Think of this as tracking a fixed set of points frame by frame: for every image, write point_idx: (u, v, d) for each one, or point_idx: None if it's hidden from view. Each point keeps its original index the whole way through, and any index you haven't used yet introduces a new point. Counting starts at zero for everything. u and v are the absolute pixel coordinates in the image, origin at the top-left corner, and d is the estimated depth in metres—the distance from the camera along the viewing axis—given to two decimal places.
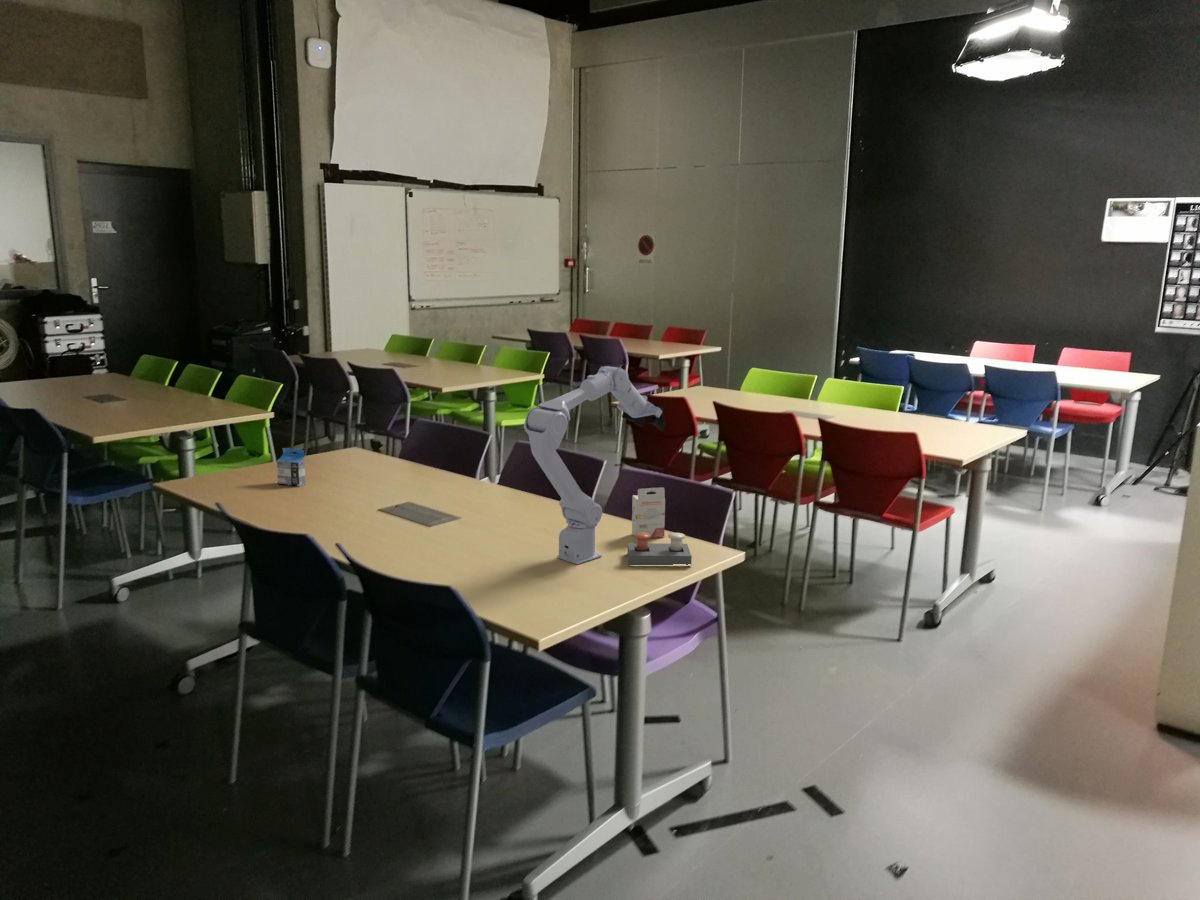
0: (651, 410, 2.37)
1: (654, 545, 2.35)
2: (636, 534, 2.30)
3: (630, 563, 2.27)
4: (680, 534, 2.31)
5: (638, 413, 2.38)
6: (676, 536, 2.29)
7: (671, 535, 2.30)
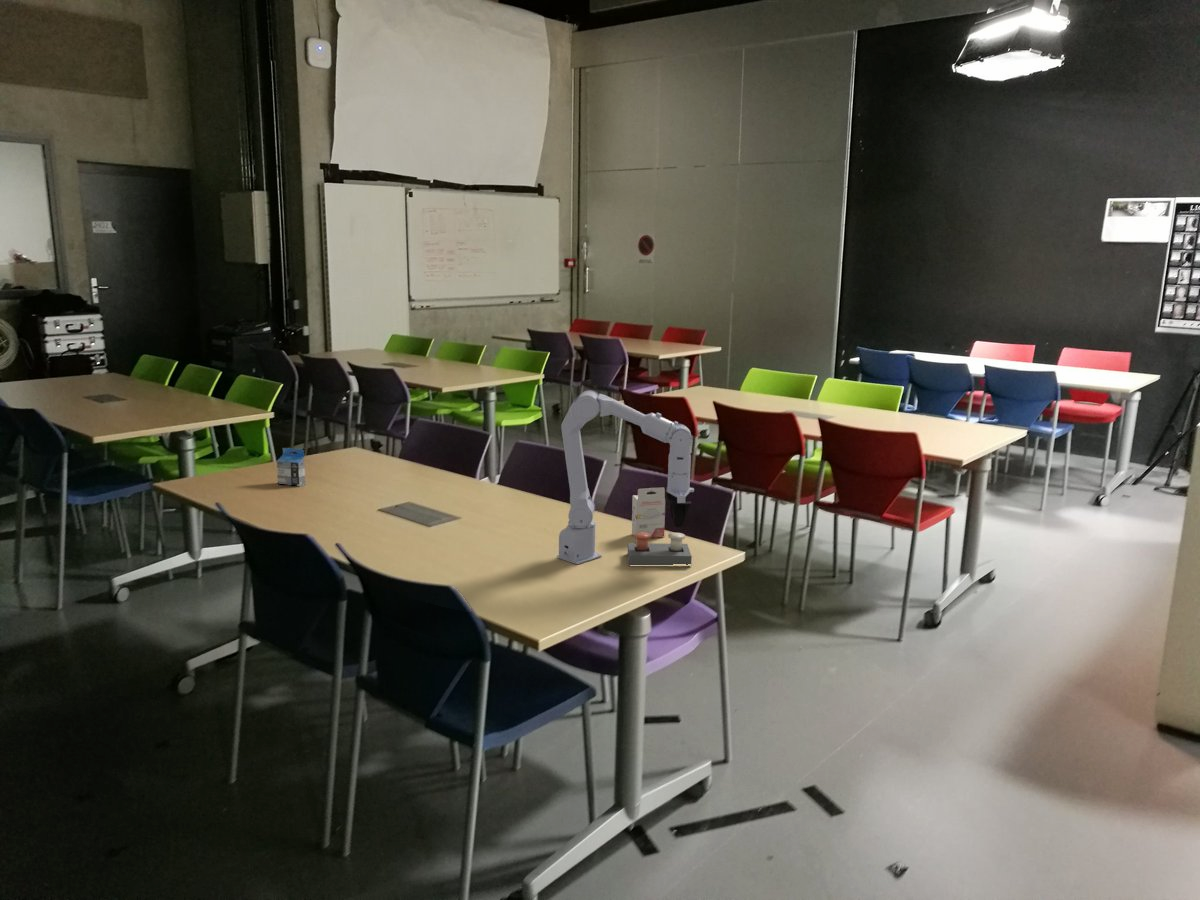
0: (680, 494, 2.23)
1: (654, 545, 2.35)
2: (636, 534, 2.30)
3: (630, 563, 2.27)
4: (680, 534, 2.31)
5: (671, 488, 2.26)
6: (676, 536, 2.29)
7: (671, 535, 2.30)
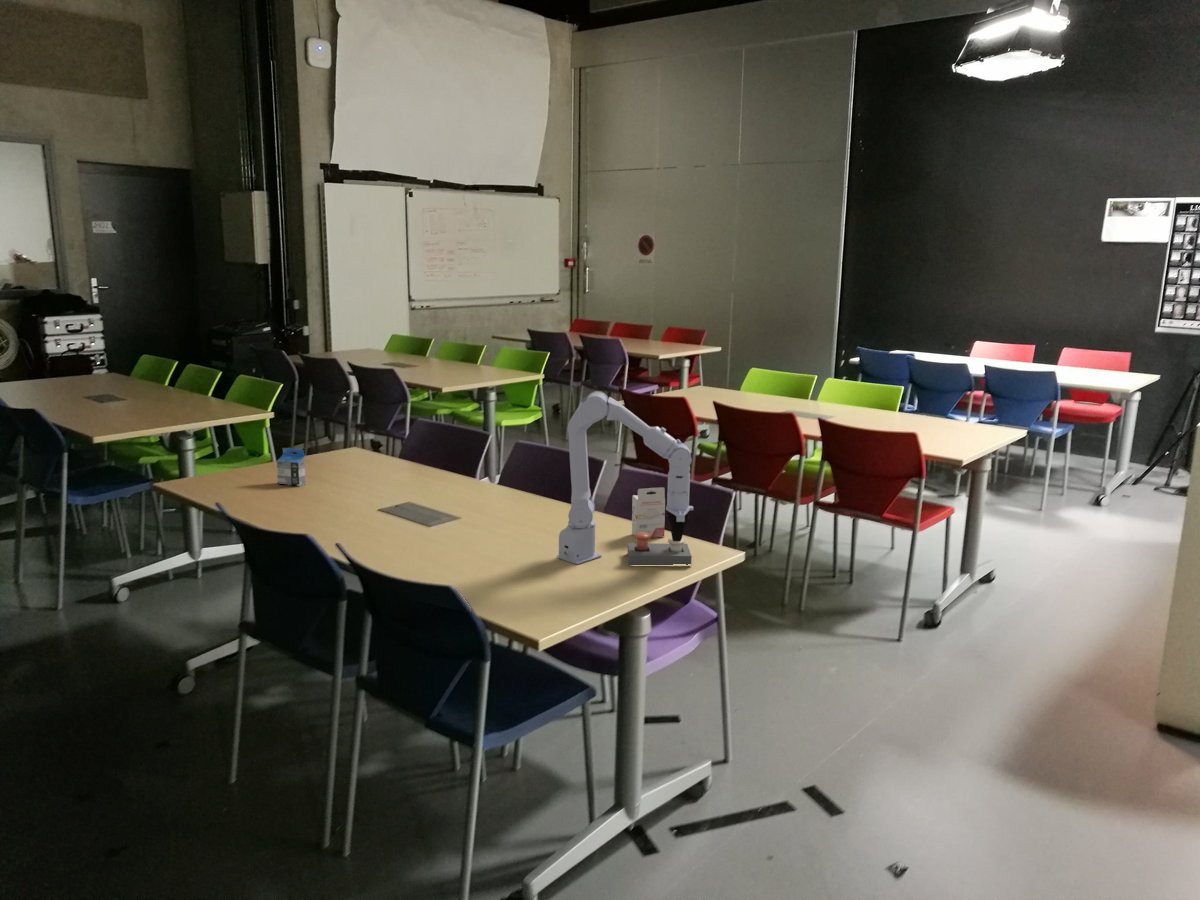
0: (679, 512, 2.24)
1: (654, 545, 2.35)
2: (636, 534, 2.30)
3: (630, 563, 2.27)
4: None
5: (670, 507, 2.27)
6: (676, 541, 2.30)
7: (671, 540, 2.30)
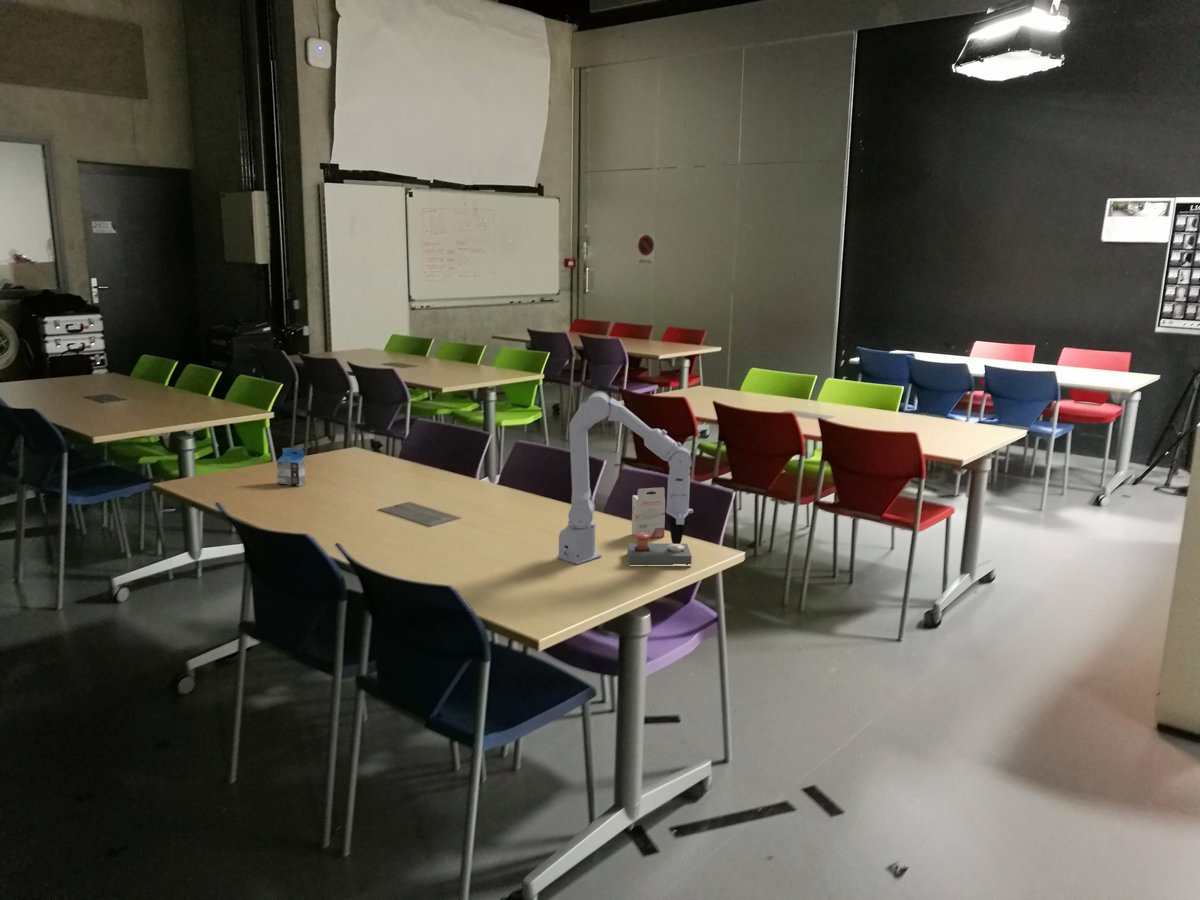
0: (679, 515, 2.24)
1: (654, 545, 2.35)
2: (636, 534, 2.30)
3: (630, 563, 2.27)
4: (679, 545, 2.32)
5: (670, 509, 2.27)
6: (676, 547, 2.30)
7: (671, 546, 2.31)
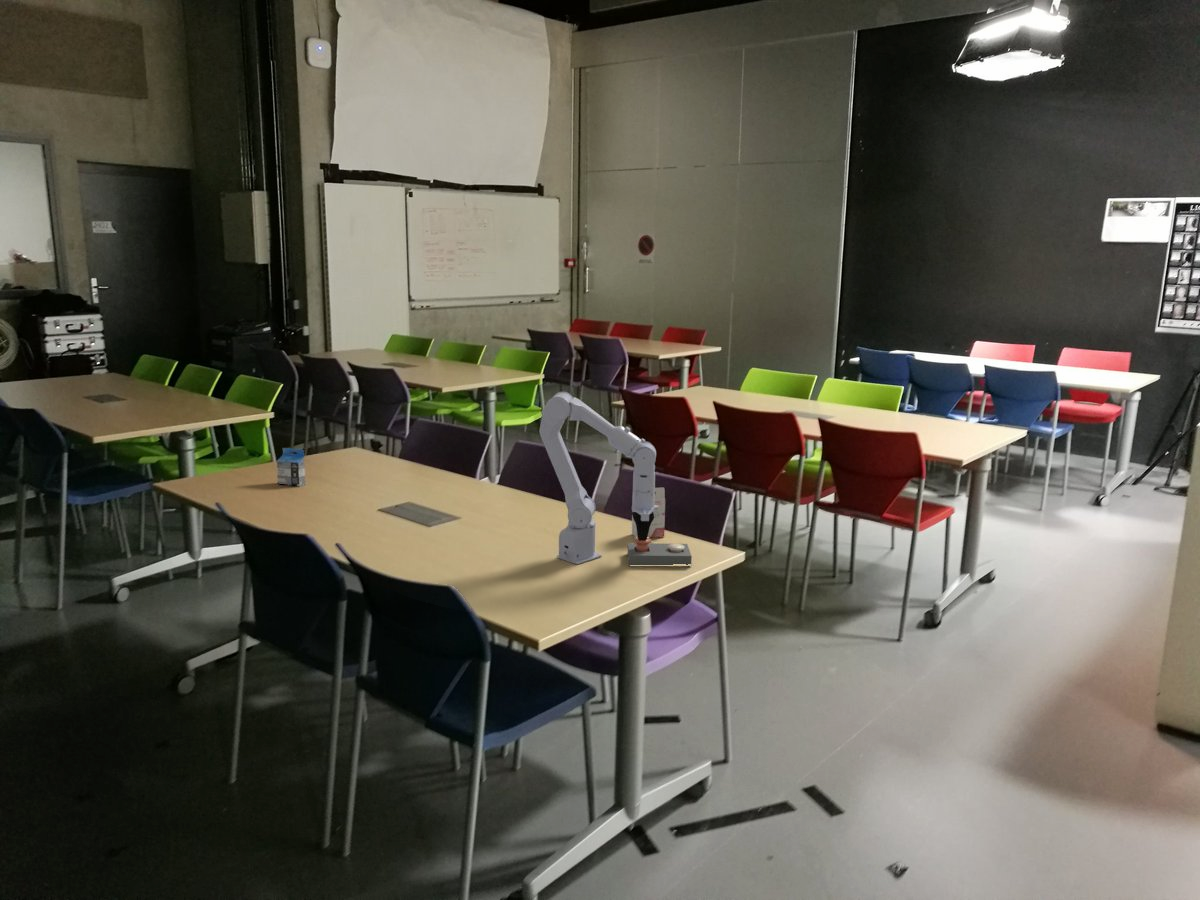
0: (643, 512, 2.24)
1: (654, 545, 2.35)
2: (636, 539, 2.31)
3: (630, 563, 2.27)
4: (679, 545, 2.32)
5: (635, 506, 2.27)
6: (676, 547, 2.30)
7: (671, 546, 2.31)
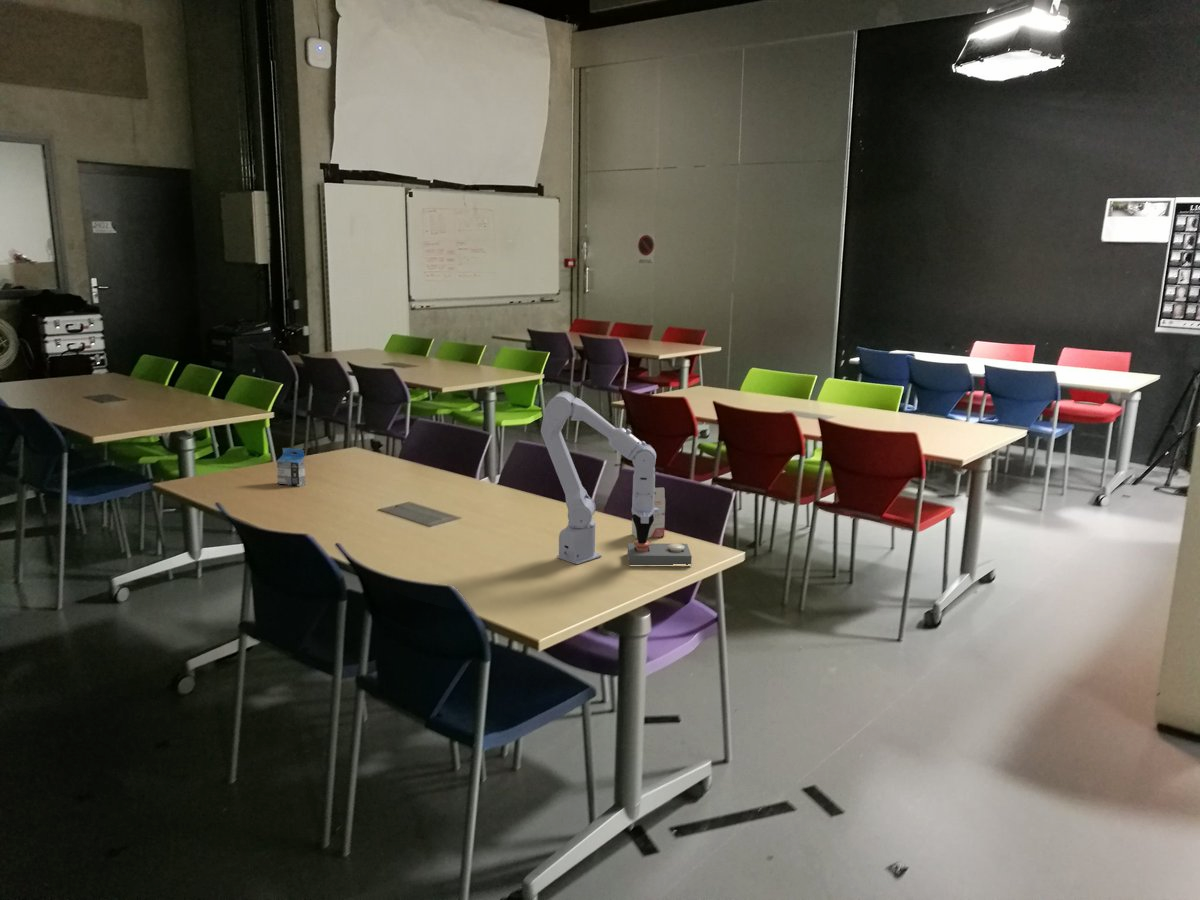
0: (643, 514, 2.24)
1: (654, 545, 2.35)
2: (636, 542, 2.31)
3: (630, 563, 2.27)
4: (679, 545, 2.32)
5: (635, 508, 2.27)
6: (676, 547, 2.30)
7: (671, 546, 2.31)
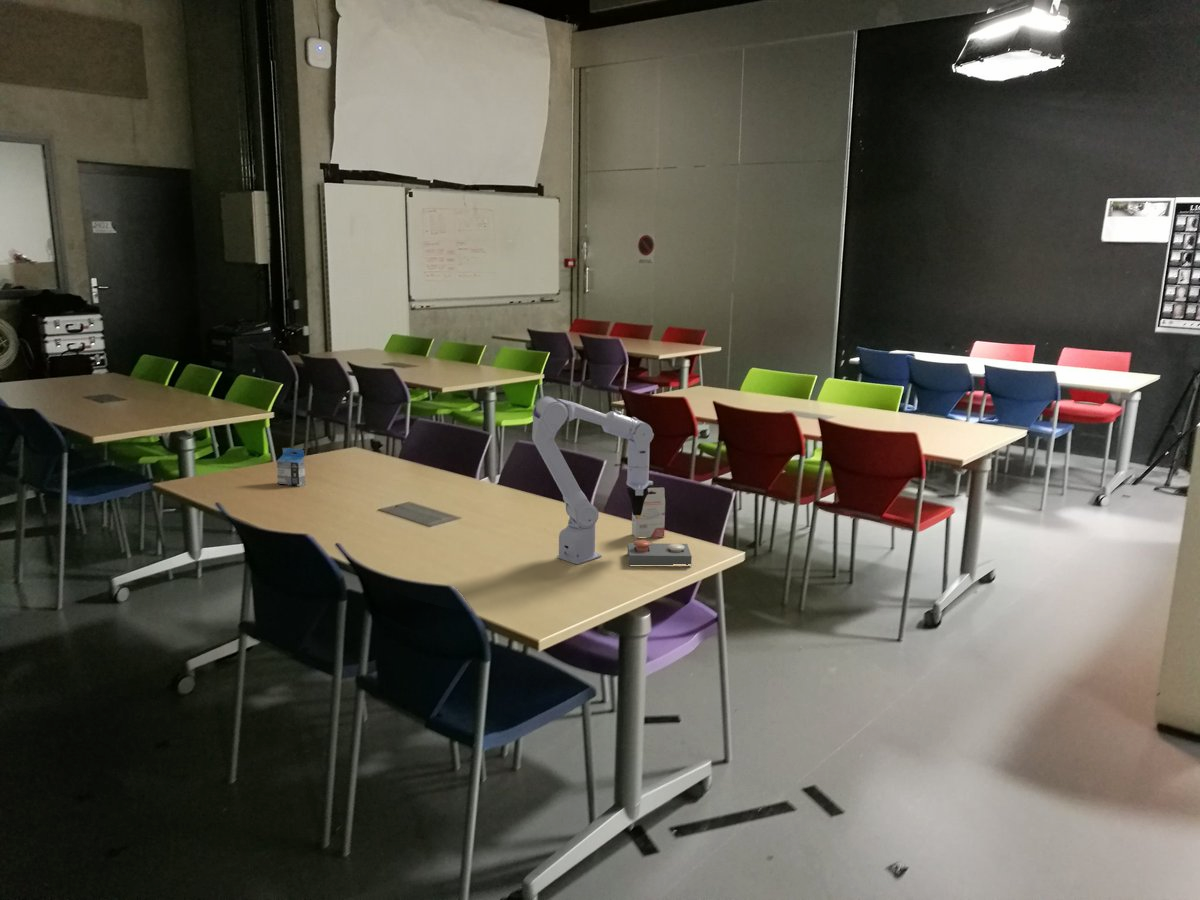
0: (638, 486, 2.30)
1: (654, 545, 2.35)
2: (636, 542, 2.31)
3: (630, 563, 2.27)
4: (679, 545, 2.32)
5: (630, 481, 2.33)
6: (676, 547, 2.30)
7: (671, 546, 2.31)
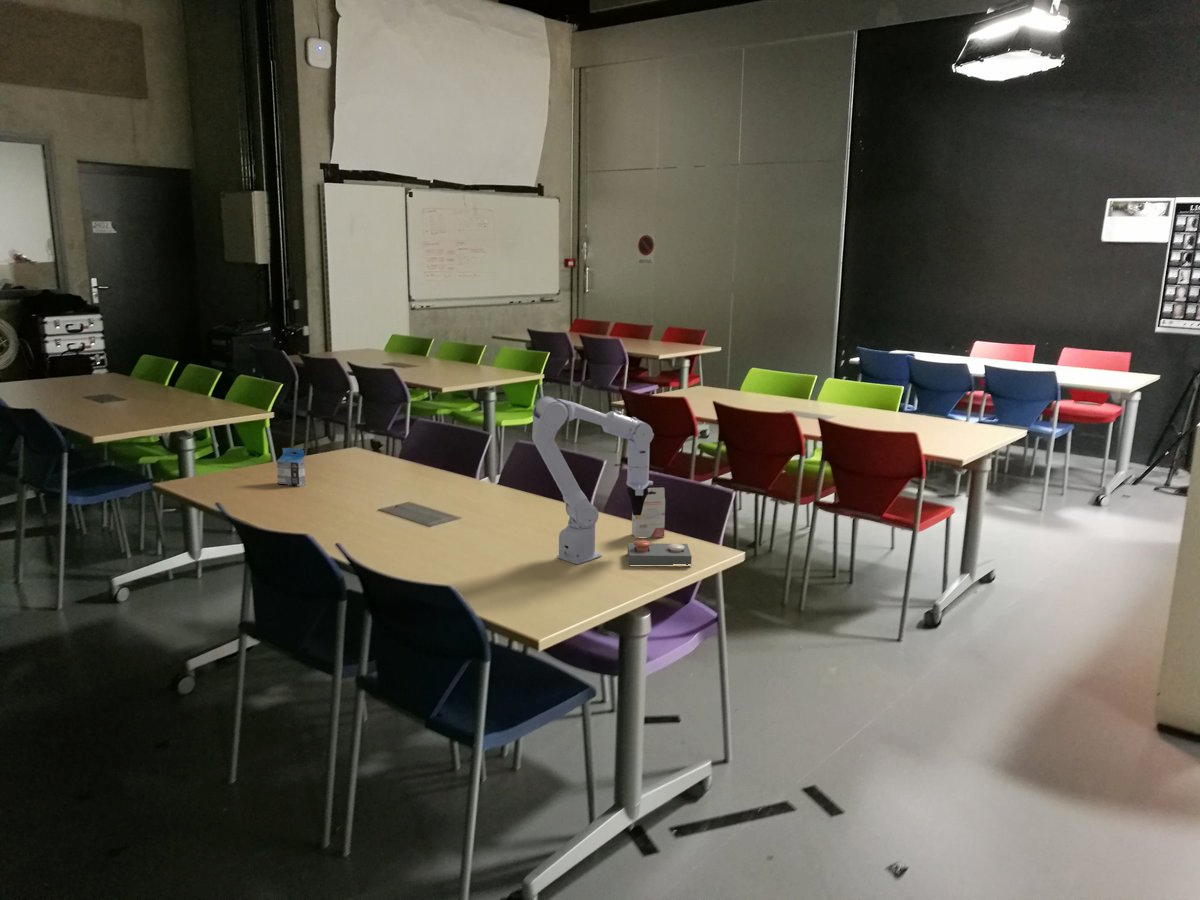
0: (638, 486, 2.30)
1: (654, 545, 2.35)
2: (636, 542, 2.31)
3: (630, 563, 2.27)
4: (679, 545, 2.32)
5: (630, 481, 2.33)
6: (676, 547, 2.30)
7: (671, 546, 2.31)
